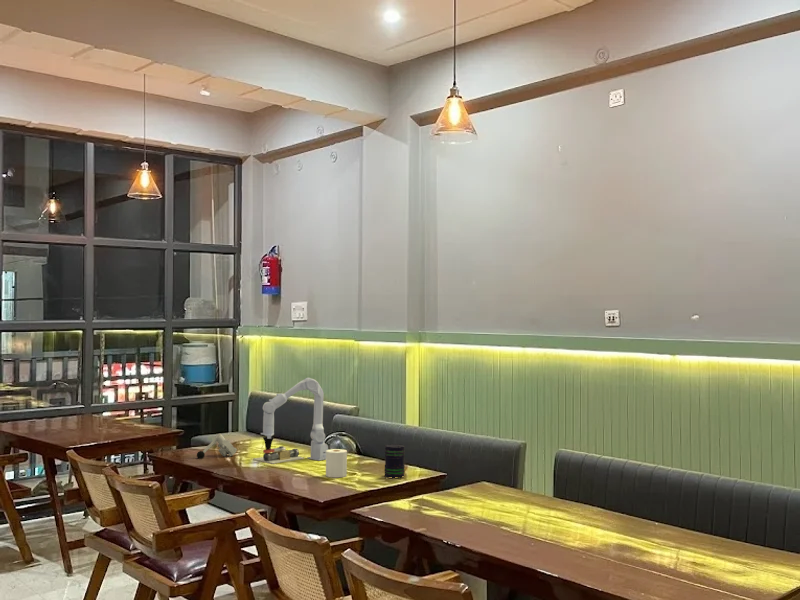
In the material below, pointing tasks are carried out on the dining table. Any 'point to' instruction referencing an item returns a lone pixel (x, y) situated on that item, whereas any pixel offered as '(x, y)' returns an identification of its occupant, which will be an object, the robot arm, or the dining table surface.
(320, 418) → the robot arm
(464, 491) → the dining table surface
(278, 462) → the mounting board
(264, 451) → the lever
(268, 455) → the valve body
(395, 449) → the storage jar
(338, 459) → the toilet paper
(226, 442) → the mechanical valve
